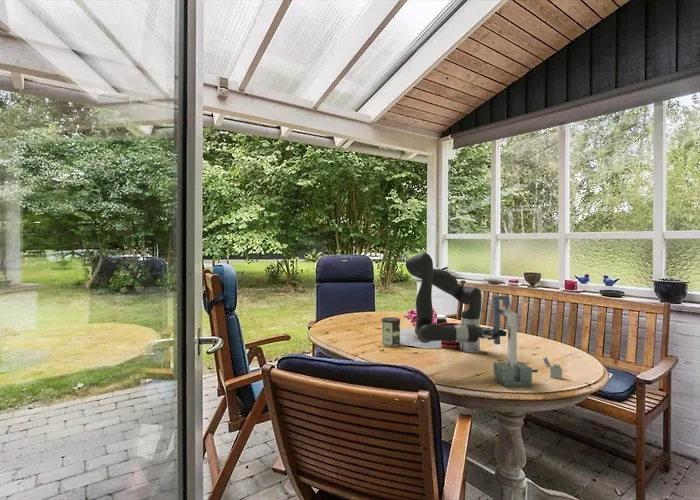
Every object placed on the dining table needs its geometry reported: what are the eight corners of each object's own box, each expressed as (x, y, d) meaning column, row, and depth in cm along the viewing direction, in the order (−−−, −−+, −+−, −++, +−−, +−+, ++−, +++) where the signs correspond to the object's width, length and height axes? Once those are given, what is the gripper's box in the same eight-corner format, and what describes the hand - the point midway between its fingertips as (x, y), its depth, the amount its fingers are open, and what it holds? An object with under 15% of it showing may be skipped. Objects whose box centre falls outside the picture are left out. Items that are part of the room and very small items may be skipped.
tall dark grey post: (495, 344, 151) (494, 296, 151) (493, 343, 153) (492, 296, 153) (510, 343, 151) (509, 296, 151) (508, 342, 153) (507, 295, 153)
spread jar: (437, 332, 227) (437, 313, 227) (454, 334, 220) (454, 315, 220) (429, 335, 218) (429, 316, 218) (446, 338, 211) (446, 319, 211)
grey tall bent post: (503, 387, 138) (503, 315, 137) (483, 370, 156) (483, 307, 156) (543, 386, 138) (543, 314, 138) (519, 370, 156) (519, 306, 156)
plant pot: (460, 343, 200) (460, 322, 200) (465, 349, 187) (465, 327, 187) (437, 343, 201) (436, 321, 201) (440, 349, 188) (440, 327, 188)
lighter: (562, 377, 147) (562, 358, 147) (561, 379, 146) (561, 359, 146) (542, 374, 151) (542, 355, 151) (542, 375, 150) (542, 356, 150)
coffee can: (399, 341, 205) (399, 317, 205) (401, 346, 194) (401, 320, 194) (381, 341, 205) (381, 317, 205) (382, 346, 195) (382, 320, 194)
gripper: (470, 328, 145) (512, 327, 145) (459, 321, 159) (497, 320, 159) (470, 346, 145) (512, 346, 145) (459, 337, 159) (497, 337, 159)
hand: (504, 332), depth 152 cm, fingers closed on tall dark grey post, 2 cm apart
